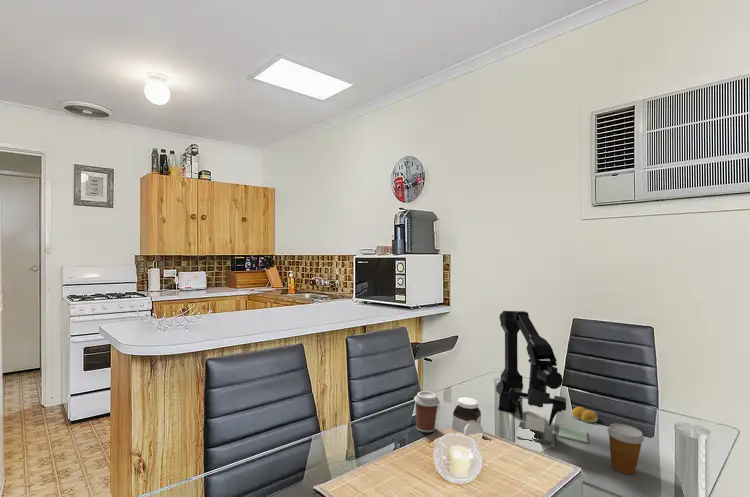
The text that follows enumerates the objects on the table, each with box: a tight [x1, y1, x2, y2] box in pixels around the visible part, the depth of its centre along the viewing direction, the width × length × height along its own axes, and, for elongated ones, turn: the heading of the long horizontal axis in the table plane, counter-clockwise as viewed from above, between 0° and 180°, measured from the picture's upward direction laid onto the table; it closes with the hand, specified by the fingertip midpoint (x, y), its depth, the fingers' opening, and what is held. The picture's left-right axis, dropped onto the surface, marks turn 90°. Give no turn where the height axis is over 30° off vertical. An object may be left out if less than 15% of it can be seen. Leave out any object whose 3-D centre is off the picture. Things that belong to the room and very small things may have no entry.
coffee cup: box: [413, 390, 441, 433], centre depth 147 cm, size 9×9×12 cm
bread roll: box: [570, 406, 598, 424], centre depth 163 cm, size 8×9×4 cm
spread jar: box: [451, 396, 484, 436], centre depth 142 cm, size 12×11×12 cm
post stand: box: [518, 420, 554, 447], centre depth 146 cm, size 11×11×6 cm
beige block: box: [525, 408, 547, 432], centre depth 146 cm, size 6×6×4 cm
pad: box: [558, 424, 588, 444], centre depth 148 cm, size 9×9×1 cm
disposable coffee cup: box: [607, 423, 645, 475], centre depth 126 cm, size 10×10×12 cm
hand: (535, 422), depth 146 cm, fingers open, 9 cm apart
